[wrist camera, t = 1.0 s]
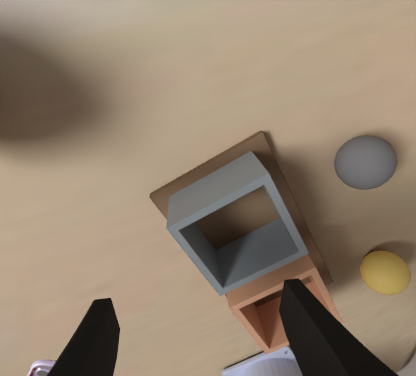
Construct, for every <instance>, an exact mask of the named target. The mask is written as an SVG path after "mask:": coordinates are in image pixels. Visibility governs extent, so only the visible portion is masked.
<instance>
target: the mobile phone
mask: <svg viewBox="0 0 416 376" xmlns="http://www.w3.org/2000/svg"><path fill="white" fill-rule="evenodd" d="M55 362H56V361H52V360H46V359H41V360H37V361H35V362H34V363H33V364H32V366H31V368H30V371H29V373H28V375H27V376H46V375H47V374H48V372H49V371H50V370H51V368H52V367H53V365H54V364H55Z"/></svg>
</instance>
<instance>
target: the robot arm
mask: <svg viewBox="0 0 416 376" xmlns="http://www.w3.org/2000/svg"><path fill="white" fill-rule="evenodd" d="M279 313H280V317H281V320H282V324H283V327H284V330H285V334H286V337H287V339H288V342H289V344H290V346H291V348H290V347H289V346H286V347H283V348H281V349H279V350H276V351H274V352H272V353H269V354H267V355H266V354H265V352H263V353H261V354H258V355H256V356H254V357H252V358H249V359H247V360H245V361H242V362H240V363H238V364H236V365H233V366H231V367H229V368H226V369H224V370H223V371H222V375H223V376H398V375H397V374H396V373H394V372H393V371H392V370H391V369H390V368H389V367H387V366H386V365H385V364H384V363H383V362H381V361H380V360H379V359H378V358H377V357H376V356H375V355H374V354H372V353H371V352H370V351H369V350H368V349H367V348H366V347H365V346H364V345H363V344H361V343H360V342H359V341H358V340H357V339H356V338H355V337H354V336H353V335H352V334H351V333H350V332H349V331H348V330H347V329H346V328H345V327H344V326H343V325H342V324H341V323H340V322H339V321H338V320H337V319H336V318H335V317H334V316H333V315H332V314H331V313H330V312H329V311H328V310H327V309H326V308H325V307H324V306H323V304H322V303H321V302H320V301H319V300H318V299H317V298H316V297H315V296H314V295H313V294H312V292H311V291H310V290H309V289H308V288H307V287H306V286H305V285H304V284H303V282H302V281H301V280H300V279H299V278H296V279H287V280H284V285H283V290H282V296H281V301H280V306H279ZM119 334H120V327H119V324H118V320H117V317H116V314H115V310H114V307H113V304H112V300H111V298H106V299H96V300H94V301H93V303H92V304H91V306H90V308H89V310H88V311H87V313H86V315H85V316H84V318H83V320H82V322H81V323H80V325H79V327H78V328H77V330H76V331H75V333H74V335H73V336H72V338H71V339H70V341H69V343H68V344H67V346H66V347H65V349H64V350H63V352H62V353H61V355H60V356H59V358H58V359H57V361H56V362H55V364H54V365H53V367H52V368H51V370H50V371H49V372H48V374H47V375H46V376H113V373H114V369H115V364H116V359H117V352H118V343H119ZM291 349H292V350H291Z"/></svg>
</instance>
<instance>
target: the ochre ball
mask: <svg viewBox="0 0 416 376" xmlns="http://www.w3.org/2000/svg"><path fill="white" fill-rule="evenodd" d="M360 274H361V277H362V279H363V281H364V282H365V284H366V285H367V286H368V287H369V288H371V289H372V290H374V291H375V292H378V293H380V294H384V295H395V294H398V293H401V292H402V291H404V290H405V289H406V288H407V287H408V285H409V283H410V279H411V274H410V270H409V267H408V265H407V264H406V263H405V261H404V260H403V259H402V258H400V257H399V256H398V255H396V254H394V253H391V252H388V251H374V252H371V253H369V254H368V255H366V256H365V257H364V258H363V260H362V262H361V264H360Z"/></svg>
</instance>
